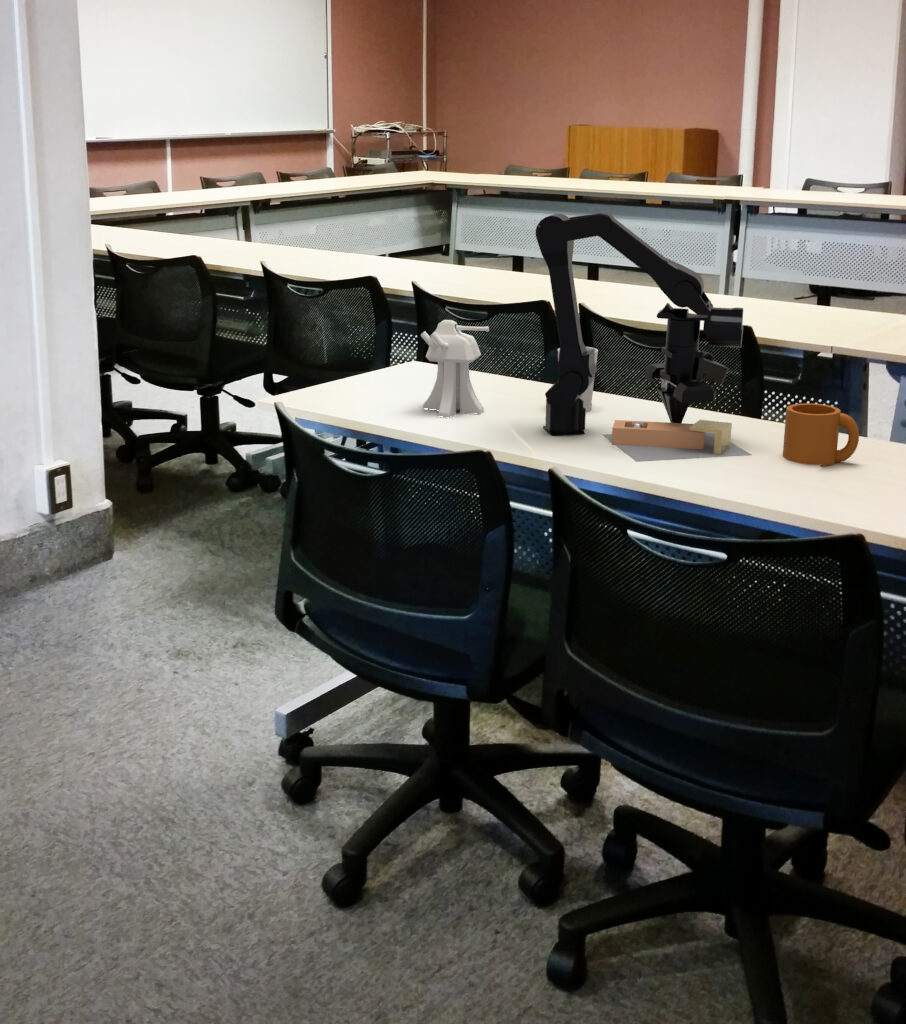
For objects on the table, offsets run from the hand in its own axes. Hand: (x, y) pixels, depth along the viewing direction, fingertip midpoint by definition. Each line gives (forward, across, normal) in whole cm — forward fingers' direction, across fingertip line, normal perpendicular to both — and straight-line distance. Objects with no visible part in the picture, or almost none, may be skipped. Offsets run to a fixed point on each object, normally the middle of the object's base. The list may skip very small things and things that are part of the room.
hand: (676, 428), depth 216 cm
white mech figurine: (+3, +30, +34) cm, 46 cm away
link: (+2, -3, +4) cm, 5 cm away
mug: (+2, -18, -18) cm, 26 cm away
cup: (+3, +27, +10) cm, 29 cm away
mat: (+2, -4, +2) cm, 5 cm away
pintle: (+2, 0, +8) cm, 8 cm away
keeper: (+1, -8, -2) cm, 9 cm away
